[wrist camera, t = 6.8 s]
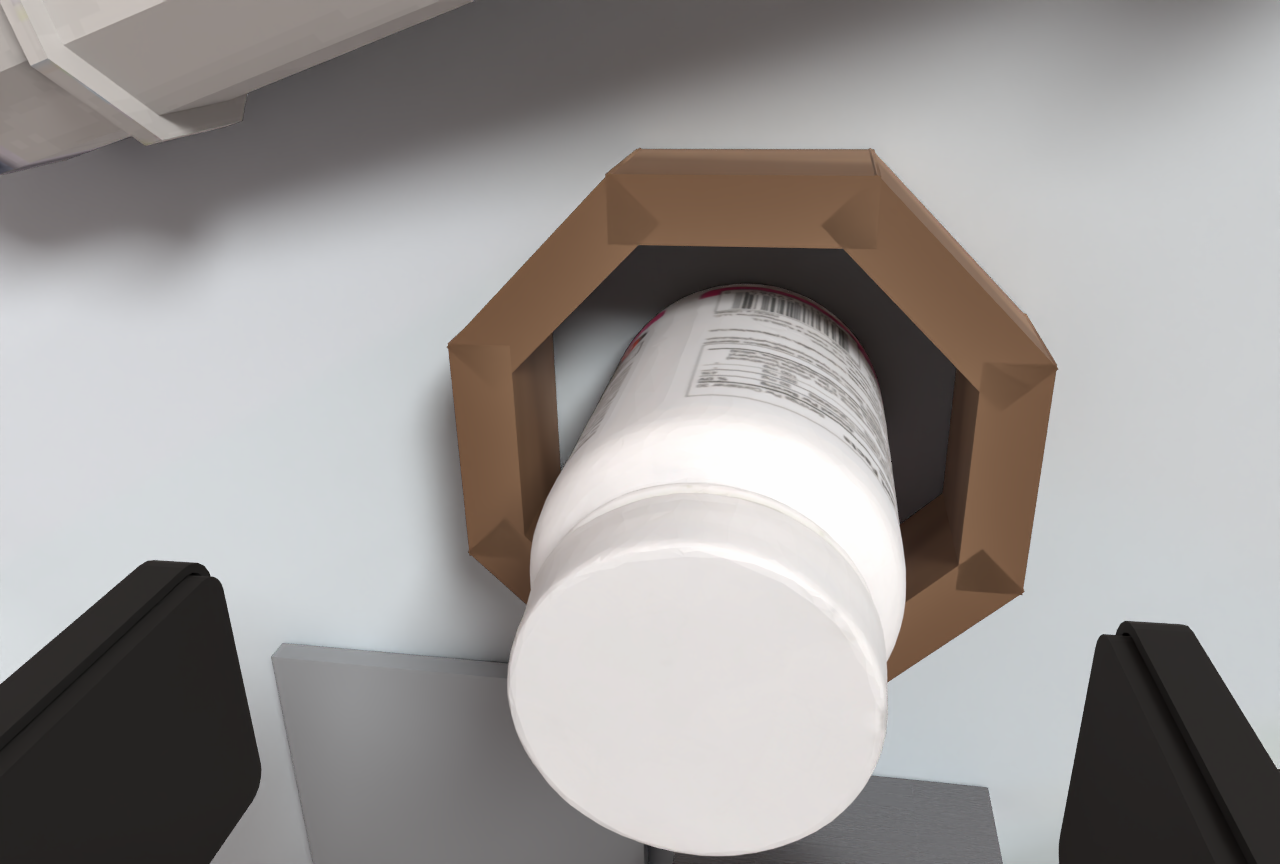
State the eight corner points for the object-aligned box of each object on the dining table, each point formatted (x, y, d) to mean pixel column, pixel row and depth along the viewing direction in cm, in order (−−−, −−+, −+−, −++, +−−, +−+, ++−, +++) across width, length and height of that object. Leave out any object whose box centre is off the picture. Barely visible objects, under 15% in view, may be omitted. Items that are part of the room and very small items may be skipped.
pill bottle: (694, 562, 19) (607, 931, 12) (567, 352, 18) (377, 614, 10) (930, 464, 18) (1003, 819, 10) (808, 227, 16) (789, 430, 9)
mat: (643, 675, 21) (639, 690, 20) (650, 952, 24) (646, 971, 23) (282, 643, 22) (271, 656, 22) (334, 909, 25) (326, 926, 25)
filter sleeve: (1050, 147, 15) (1088, 174, 13) (983, 641, 19) (1003, 730, 17) (482, 147, 17) (428, 171, 15) (520, 604, 20) (481, 680, 18)
